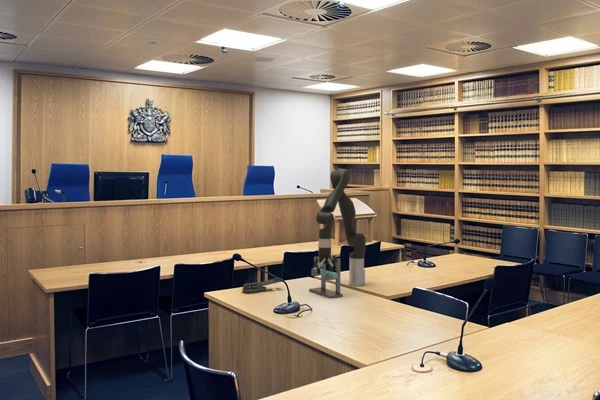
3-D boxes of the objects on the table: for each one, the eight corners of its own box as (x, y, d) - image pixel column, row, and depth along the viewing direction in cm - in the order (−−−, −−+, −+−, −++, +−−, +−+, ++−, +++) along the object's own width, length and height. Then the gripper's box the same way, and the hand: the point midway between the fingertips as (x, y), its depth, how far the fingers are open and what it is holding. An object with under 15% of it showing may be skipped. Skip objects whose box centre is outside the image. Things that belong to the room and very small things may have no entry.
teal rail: (316, 271, 323) (316, 267, 323) (337, 277, 304) (337, 273, 304) (313, 271, 322) (313, 268, 321) (334, 278, 303) (334, 273, 303)
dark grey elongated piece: (284, 279, 323) (245, 283, 312) (284, 290, 323) (245, 294, 312) (278, 277, 331) (240, 280, 320) (278, 287, 331) (240, 291, 320)
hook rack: (321, 289, 325) (321, 254, 324) (342, 296, 307) (343, 259, 306) (309, 291, 321) (309, 255, 320) (330, 298, 302) (330, 261, 301)
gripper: (331, 244, 319) (330, 271, 320) (311, 246, 312) (311, 273, 312) (338, 246, 313) (338, 273, 313) (318, 247, 305) (318, 275, 306)
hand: (324, 273), depth 313 cm, fingers open, 8 cm apart
